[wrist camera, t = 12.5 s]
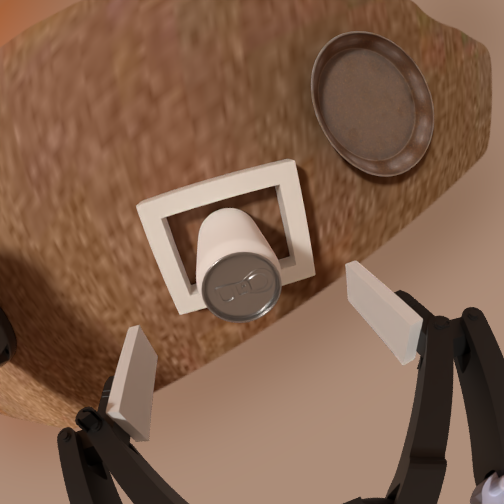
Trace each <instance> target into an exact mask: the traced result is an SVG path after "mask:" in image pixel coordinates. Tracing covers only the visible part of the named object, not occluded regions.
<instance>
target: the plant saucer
mask: <svg viewBox="0 0 504 504" xmlns="http://www.w3.org/2000/svg"><path fill="white" fill-rule="evenodd" d="M311 95H312V102H313V106H314V110H315V113H316V116H317V119H318V121H319V124H320V126H321V128H322V130H323V132H324V134H325V135H326V137H327V139H328V140H329V141H330V143H331V144H332V146H333V147H334V148H335V149H336V151H337V152H338V153H339V154H340V155H341V156H342V157H343V158H344V159H345V160H347V161H348V162H349V163H350V164H352V165H353V166H355V167H356V168H358V169H360V170H362V171H364V172H366V173H369V174H372V175H376V176H382V177H389V176H395V175H399V174H402V173H404V172H406V171H408V170H409V169H411V168H412V167H414V166H415V165H416V164H417V163H418V162H419V161H420V160H421V158H422V157H423V156H424V154H425V152H426V150H427V148H428V146H429V144H430V141H431V138H432V134H433V128H434V108H433V101H432V97H431V93H430V91H429V87H428V85H427V82H426V80H425V78H424V76H423V74H422V72H421V71H420V69H419V68H418V66H417V65H416V63H415V62H414V61H413V59H412V58H411V57H410V56H409V55H408V54H407V53H406V52H405V51H404V50H403V49H402V48H400V47H399V46H398V45H396V44H395V43H394V42H392V41H390V40H389V39H387V38H385V37H382V36H380V35H377V34H374V33H370V32H363V31H354V32H347V33H344V34H341V35H338V36H336V37H335V38H333V39H332V40H330V41H329V42H328V43H327V44H326V45H325V46H324V47H323V48H322V50H321V51H320V53H319V54H318V56H317V58H316V60H315V63H314V66H313V71H312V77H311Z"/></svg>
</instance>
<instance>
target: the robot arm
mask: <svg viewBox="0 0 504 504" xmlns="http://www.w3.org/2000/svg"><path fill="white" fill-rule="evenodd" d="M345 265H346V277H347V291H348V300H349V302H350V303H351V304H352V305H353V306H354V307H355V309H356V310H357V311H358V312H359V313H360V314H361V315H362V317H363V318H364V319H365V320H366V321H367V323H368V324H369V325H370V326H371V327H372V329H373V330H374V331H375V332H376V333H377V334H378V336H379V337H380V338H381V339H382V341H383V342H384V343H385V344H386V345H387V346H388V348H389V349H390V350H391V351H392V352H393V354H394V355H395V356H396V357H397V359H398V360H399V361H400V362H401V364H402V365H405V364H407V363H408V362H410V361H412V360H414V359H415V356H416V351H417V352H418V353H419V354H420V355H421V356H420V360H419V364H418V368H417V369H419V370H418V378H417V385H416V391H415V398H414V403H413V408H412V414H411V418H410V423H409V427H408V431H407V436H406V439H405V443H404V447H403V451H402V454H401V458H400V461H399V464H398V468H397V471H396V474H395V476H394V479H393V481H392V483H391V485H390V487H389V490H388V492H387V495H386V497H385V498H366V499H361V497H358V498H356V499H353V500H351V501H348V502H346V503H343V504H437V501H438V498H439V495H440V492H441V488H442V484H443V480H444V476H445V472H446V467H447V461H446V459H445V451H446V446H447V440H448V433H449V426H450V417H451V406H452V394H453V359H454V362H455V366H456V369H457V373H458V377H459V381H460V385H461V389H462V394H463V399H464V403H465V409H466V414H467V420H468V426H469V433H470V440H471V449H472V461H473V472H474V478H475V483H476V488H475V489H474V491H473V493H472V496H471V499H470V503H471V504H504V358H503V355H502V353H501V350H500V348H499V346H498V344H497V341H496V339H495V337H494V335H493V333H492V330H491V328H490V326H489V324H488V322H487V320H486V318H485V316H484V314H483V313H482V311H481V310H479V309H478V308H474V307H469V308H466V309H465V310H464V311H463V313H462V317H460V318H456V319H452V320H449V319H448V318H446V317H444V316H434V315H433V314H432V313H431V312H429V311H428V310H427V309H426V308H425V307H424V306H422V305H421V304H420V303H418V301H417V300H416V299H414V298H413V297H412V296H411V295H410V294H408V293H406V292H404V291H401V290H399V291H397V292H393V291H391V290H390V289H389V288H388V287H387V286H386V285H384V284H383V283H382V282H381V281H380V280H379V279H377V278H376V277H375V276H374V275H373V274H372V273H370V272H369V271H368V270H367V269H366V268H364V267H363V266H362V265H361V264H360V263H358V262H357V261H353V262H350V263H347V264H345ZM15 352H16V338H15V335H14V332H13V329H12V327H11V325H10V323H9V321H8V319H7V317H6V316H5V314H4V312H3V311H2V309H1V308H0V367H2V366H3V365H5V364H6V363H8V362H9V361H10V360H11V358H12V357H13V355H14V353H15ZM157 359H158V356H157V354H156V353H155V351H154V349H153V348H152V346H151V344H150V343H149V341H148V339H147V338H146V336H145V334H144V332H143V331H142V329H141V327H140V325H138V326H134V327H129V329H128V332H127V335H126V339H125V342H124V345H123V348H122V352H121V355H120V358H119V362H118V365H117V369H116V373H115V376H110V377H109V378H108V380H107V381H106V383H105V385H104V389H103V392H102V396H101V397H102V398H101V400H100V403H99V407H98V411H96V410H95V409H93V408H92V407H85V408H83V409H81V410H80V411H79V412H78V414H77V416H76V419H75V421H76V424H77V425H78V426H79V427H80V428H81V429H82V430H81V431H77V432H75V431H74V430H73V429H72V428H69V427H67V428H64V429H62V430H61V431H60V433H59V434H58V437H57V443H58V450H59V455H60V462H61V467H62V471H63V477H64V481H65V485H66V490H67V493H68V497H69V501H70V504H122V501H121V499H120V497H119V494H118V492H117V490H116V487H115V485H114V482H113V479H112V477H111V474H112V475H113V477H114V478H115V479H116V481H117V482H118V484H119V485H120V486H121V488H122V489H123V490H124V492H125V493H126V494H127V496H128V497H129V498H130V499H131V501H132V502H133V503H134V504H189V503H188V502H186V501H185V500H184V499H183V498H182V497H181V496H180V495H179V494H178V493H177V492H175V490H174V489H172V488H171V487H170V486H169V485H168V484H167V483H166V482H165V481H164V480H163V479H162V477H160V475H159V474H158V473H157V472H156V471H155V470H154V469H153V468H152V467H151V466H150V465H149V464H148V462H147V461H146V460H145V459H144V458H143V457H142V455H141V454H140V453H139V452H138V451H137V450H136V448H135V447H134V446H133V445H132V444H131V443H130V437H132V438H133V439H134V440H135V441H136V442H139V441H149V433H150V421H151V410H152V400H153V391H154V382H155V374H156V366H157ZM110 472H111V474H110Z"/></svg>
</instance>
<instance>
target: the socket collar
mask: <svg viewBox="0 0 504 504" xmlns="http://www.w3.org/2000/svg"><path fill="white" fill-rule="evenodd" d="M271 186H275V189H276V193H277V198H278V202H279V207H280V211H281V216H282V221H283V225H284V230H285V235H286V240H287V244H288V249H289V254H290V256H289V257H286V258H282V259H279V260H278V261H279V264H280V267H281V282H282V286H283V285H286V284H289V283H293V282H296V281H299V280H302V279H305V278H308V277H312V276H315V268H314V262H313V255H312V249H311V243H310V237H309V231H308V225H307V220H306V214H305V209H304V204H303V198H302V193H301V188H300V183H299V178H298V174H297V169H296V164H295V160H290V159H285V160H281V161H276V162H272V163H268V164H264V165H260V166H256V167H252V168H248V169H244V170H240V171H236V172H233V173H229V174H225V175H222V176H218V177H215V178H211V179H208V180H204V181H201V182H198V183H194V184H191V185H188V186H185V187H182V188H178V189H175V190H172V191H169V192H166V193H163V194H160V195H157V196H154V197H151V198H149V199H146V200H143V201H141V202H140V203H139V204H138V205H136V208H137V210H138V213H139V216H140V219H141V222H142V225H143V227H144V230H145V233H146V235H147V238H148V241H149V243H150V246H151V248H152V251H153V254H154V256H155V259H156V261H157V264H158V266H159V268H160V271H161V273H162V276H163V278H164V280H165V283H166V285H167V287H168V290H169V292H170V294H171V296H172V299H173V301H174V303H175V305H176V308H177V310H178V312H179V314H180V315H181V314H185V313H189V312H192V311H196V310H200V309H204V308H207V306H206V305H205V303H204V301H203V299H202V297H201V296H200V294H199V291H198V288H197V283H196V284H193V285H191V284H190V281H189V279H188V276H187V273H186V271H185V268H184V266H183V263H182V260H181V258H180V255H179V252H178V249H177V247H176V244H175V241H174V238H173V236H172V233H171V230H170V227H169V224H168V221H167V218H166V217H167V216H170V215H174V214H177V213H180V212H183V211H186V210H190V209H193V208H196V207H199V206H203V205H206V204H209V203H213V202H216V201H220V200H223V199H227V198H230V197H234V196H237V195H241V194H245V193H248V192H252V191H256V190H260V189H263V188H267V187H271Z"/></svg>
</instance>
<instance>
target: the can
mask: <svg viewBox="0 0 504 504" xmlns="http://www.w3.org/2000/svg"><path fill="white" fill-rule="evenodd" d="M196 283H197V288H198V291H199V294H200V296H201V297H202V299H203V301H204V303H205V305H206V306H207V308H208V309H209V310H210V311H211V312H212V313H213V314H214V315H215V316H217V317H218V318H220V319H222V320H225V321H229V322H234V323H244V322H250V321H253V320H256V319H258V318H260V317H262V316H264V315H265V314H267V313H268V312H269V311H270V310H271V309H272V308H273V307H274V306H275V304H276V303H277V301H278V299H279V296H280V293H281V288H282V282H281V267H280V264H279V261H278V259H277V257H276V255H275V253H274V252H273V250H272V248H271V247H270V245H269V244H268V242H267V240H266V239H265V237H264V236H263V234H262V233H261V231H260V230H259V228H258V227H257V225H256V224H255V222H254V221H253V219H252V218H251V217H250V216H249V215H248V214H247V213H245V212H243V211H241V210H239V209H235V208H223V209H219V210H217V211H215V212H213V213H211V214H210V215H209V216H208V217H207V218H206V219H205V220H204V221H203V223H202V225H201V227H200V230H199V236H198V248H197V264H196Z"/></svg>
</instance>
